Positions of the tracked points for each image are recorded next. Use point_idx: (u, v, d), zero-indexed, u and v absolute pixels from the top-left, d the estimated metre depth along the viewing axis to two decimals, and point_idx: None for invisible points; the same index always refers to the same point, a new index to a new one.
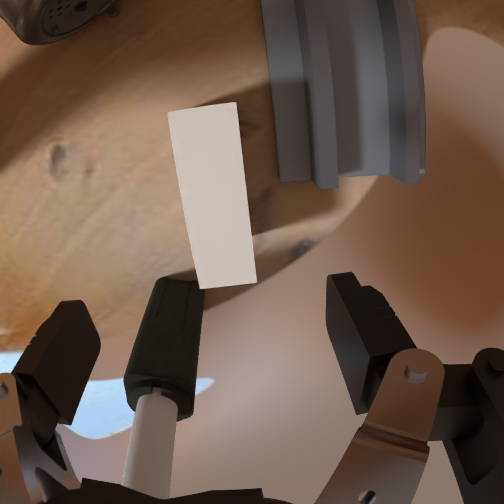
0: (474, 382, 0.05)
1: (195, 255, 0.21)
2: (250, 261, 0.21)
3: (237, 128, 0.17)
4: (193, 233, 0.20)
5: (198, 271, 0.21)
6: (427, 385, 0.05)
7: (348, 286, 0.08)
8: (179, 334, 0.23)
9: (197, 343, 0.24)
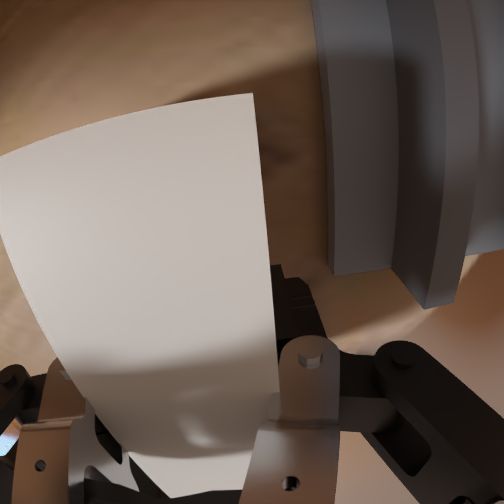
0: (380, 381, 0.05)
1: (159, 482, 0.07)
2: None
3: (258, 226, 0.04)
4: (145, 462, 0.07)
5: (170, 494, 0.08)
6: (316, 370, 0.06)
7: (271, 277, 0.09)
8: None
9: None
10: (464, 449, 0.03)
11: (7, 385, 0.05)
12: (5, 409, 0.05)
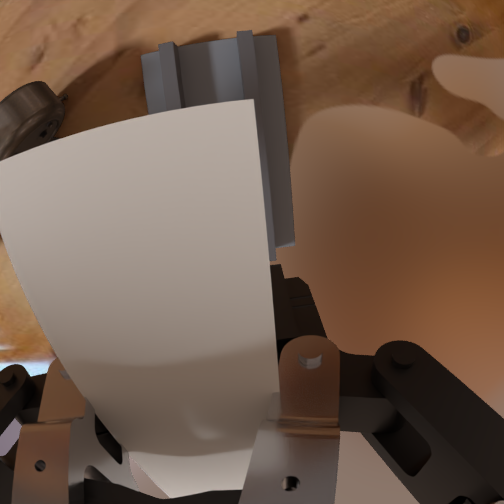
0: (380, 381, 0.05)
1: (160, 483, 0.07)
2: None
3: (259, 231, 0.04)
4: (146, 463, 0.07)
5: (171, 494, 0.08)
6: (316, 370, 0.06)
7: (271, 277, 0.09)
8: None
9: None
10: (464, 449, 0.03)
11: (7, 385, 0.05)
12: (5, 409, 0.05)
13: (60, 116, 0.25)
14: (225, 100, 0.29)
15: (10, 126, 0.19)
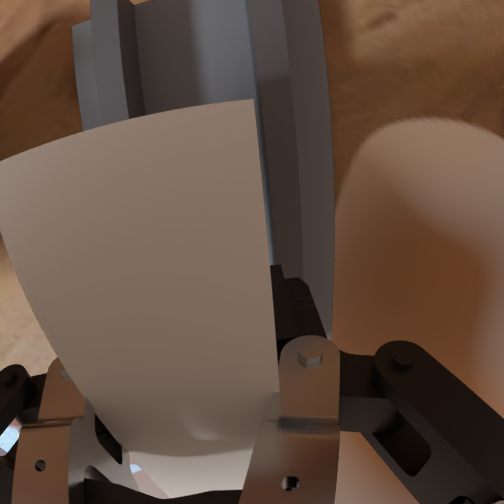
0: (380, 381, 0.05)
1: (160, 483, 0.07)
2: None
3: (258, 231, 0.04)
4: (146, 463, 0.07)
5: (171, 494, 0.08)
6: (315, 370, 0.06)
7: (271, 277, 0.09)
8: None
9: None
10: (464, 449, 0.03)
11: (7, 385, 0.05)
12: (5, 409, 0.05)
13: None
14: (220, 99, 0.15)
15: None
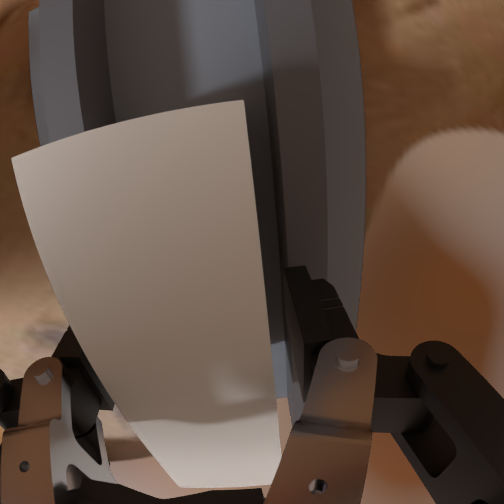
0: (415, 379, 0.05)
1: (161, 460, 0.08)
2: (275, 467, 0.09)
3: (249, 207, 0.05)
4: (149, 438, 0.07)
5: (172, 474, 0.09)
6: (355, 373, 0.05)
7: (298, 278, 0.09)
8: None
9: None
10: (488, 452, 0.03)
11: None
12: None
13: None
14: (215, 98, 0.11)
15: None
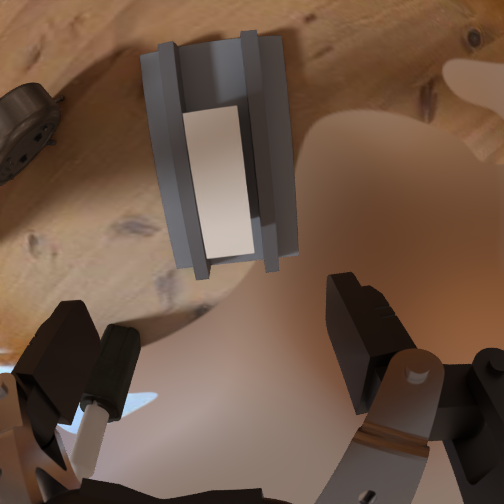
0: (474, 382, 0.05)
1: (203, 229, 0.25)
2: (249, 234, 0.26)
3: (238, 126, 0.22)
4: (202, 211, 0.25)
5: (206, 243, 0.26)
6: (427, 385, 0.05)
7: (348, 286, 0.08)
8: (112, 368, 0.33)
9: (124, 374, 0.34)
10: None
11: None
12: None
13: (55, 119, 0.24)
14: (228, 103, 0.28)
15: (2, 130, 0.18)
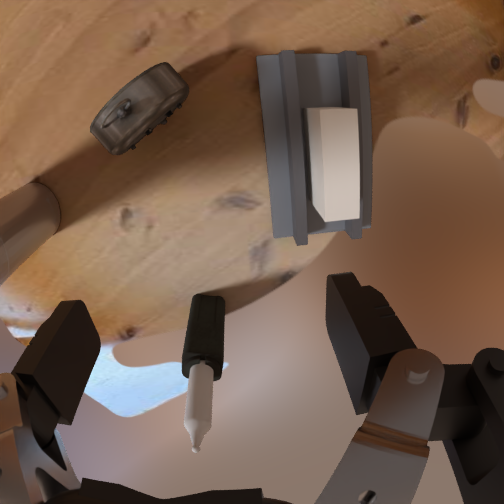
0: (474, 382, 0.05)
1: (326, 198, 0.32)
2: (357, 203, 0.33)
3: (357, 123, 0.29)
4: (327, 184, 0.32)
5: (326, 209, 0.33)
6: (427, 385, 0.05)
7: (348, 286, 0.08)
8: (213, 330, 0.40)
9: (223, 335, 0.41)
10: None
11: None
12: None
13: None
14: (327, 104, 0.35)
15: (154, 99, 0.25)
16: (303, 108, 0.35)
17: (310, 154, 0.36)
